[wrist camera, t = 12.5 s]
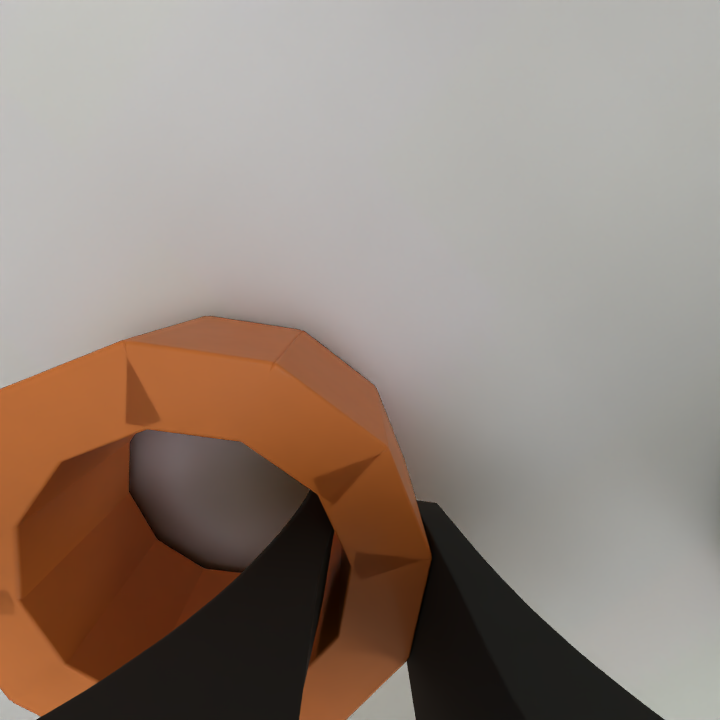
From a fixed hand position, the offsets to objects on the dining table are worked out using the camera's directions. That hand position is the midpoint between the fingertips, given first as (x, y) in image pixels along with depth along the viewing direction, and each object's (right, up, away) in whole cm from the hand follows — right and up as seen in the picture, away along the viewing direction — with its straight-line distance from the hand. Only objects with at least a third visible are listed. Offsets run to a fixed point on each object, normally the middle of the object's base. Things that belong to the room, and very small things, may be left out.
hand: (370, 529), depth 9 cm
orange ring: (-4, +1, +1) cm, 4 cm away
